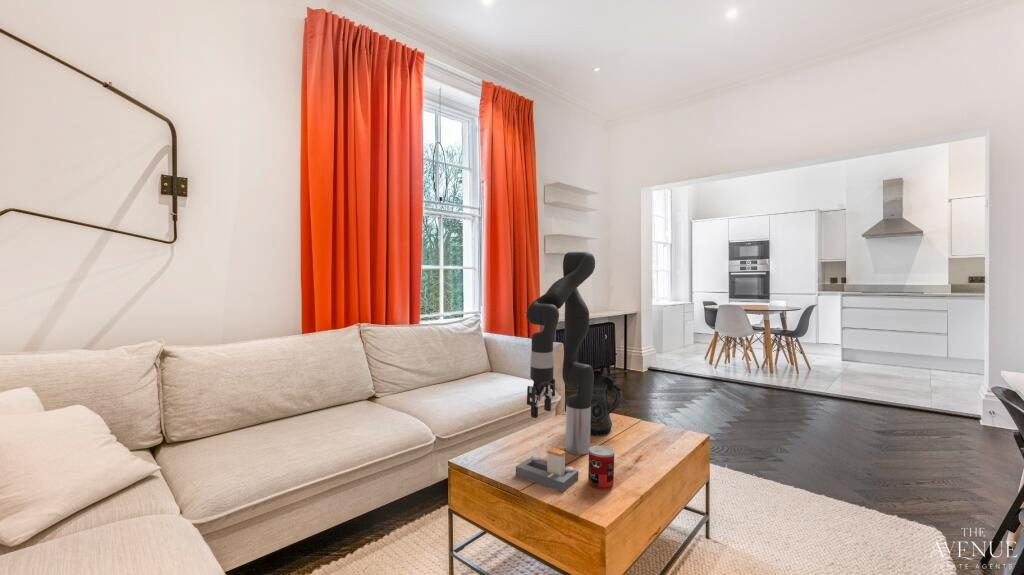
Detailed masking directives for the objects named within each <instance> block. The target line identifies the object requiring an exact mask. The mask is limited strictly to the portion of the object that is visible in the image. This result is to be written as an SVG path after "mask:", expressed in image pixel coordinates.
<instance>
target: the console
mask: <svg viewBox="0 0 1024 575" xmlns="http://www.w3.org/2000/svg"><path fill="white" fill-rule="evenodd" d="M515 476H517V477H519V478H522V479H524V480H527V481H530V482H533V483H536V484H538V485H541V486H545V487H548V488H550V489H552V490H556V491H559V492H562V493H564V492H565V491H567V490H568V489H569V488H570V487H572V486H573V485H574V484H575V483H576V482H578V481H579V470H577V469H575V468H574V467H572V466H565V476H563V477H562V476H559V475H556V474H553V473H550V472H547V460H546V459H542V458H541V457H540V456H535V455H534V456H533V455H532V456H530V457H528V458H527V459H526V460H524V461H522V462H520V463H519V464H518V465H515Z"/></svg>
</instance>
